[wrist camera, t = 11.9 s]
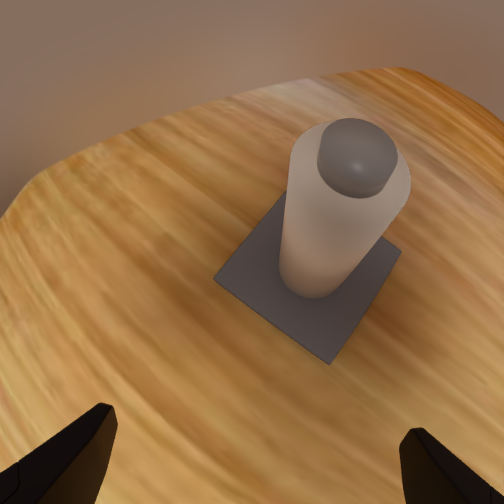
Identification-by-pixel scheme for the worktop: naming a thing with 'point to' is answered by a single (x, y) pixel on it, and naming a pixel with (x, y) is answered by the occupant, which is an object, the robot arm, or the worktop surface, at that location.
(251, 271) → the charcoal mat
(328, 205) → the cream bottle
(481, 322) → the worktop surface
